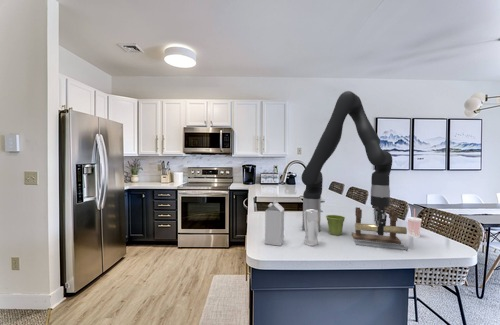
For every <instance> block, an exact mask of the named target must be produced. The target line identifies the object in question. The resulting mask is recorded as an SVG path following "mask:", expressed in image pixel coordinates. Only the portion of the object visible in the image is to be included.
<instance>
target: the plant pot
mask: <svg viewBox="0 0 500 325" xmlns="http://www.w3.org/2000/svg"><path fill="white" fill-rule="evenodd" d="M325 218H326V221H327V226H328V234H330V235H335V236H340V235H342V233H343V226H344V222H345V220H346V217H345V216H343V215H337V214H328V215H326V216H325Z"/></svg>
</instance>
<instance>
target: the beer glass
mask: <svg viewBox="0 0 500 325" xmlns="http://www.w3.org/2000/svg"><path fill="white" fill-rule="evenodd" d="M319 224H320V225H321V218H320V214H319V210H315V209H306V210H304V228H305V230H304V234H305V237H304V244H305V245H306V246H308V247H317V246H319V238H318V236H319V231H318V230H319Z"/></svg>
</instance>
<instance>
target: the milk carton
mask: <svg viewBox="0 0 500 325" xmlns="http://www.w3.org/2000/svg"><path fill="white" fill-rule="evenodd" d="M267 207H268V208H267V209H265V218H264V220H265V221H264V222H265V223H264V224H265V226H264V244H265V245H270V246H277V247H278V246H282V245H283V243H284V241H285V240H284V239H285V238H284V237H285V235H284V234H285V208H284V207H283V206H282V205H281V204H279V202H278V200H277V199H276V200H274V201H273V202H270V203H269V204H268V205H267Z"/></svg>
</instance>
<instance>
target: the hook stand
mask: <svg viewBox="0 0 500 325" xmlns="http://www.w3.org/2000/svg"><path fill="white" fill-rule="evenodd" d="M354 212H355V223H361V224H362V218H363V217H362V216H363V209H361V207H357V206H356V207H355V211H354ZM398 214H399V212H398V211H395V209H391V208H390V209H388V218H389V226H397V222H398ZM351 236H352V239H353V240H362V241H372V242H382V243H392V244H401V245H402V240H400V238H399V237H397V233H389V235H378V234H370V233H363V232H362V230H355V232H351Z"/></svg>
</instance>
